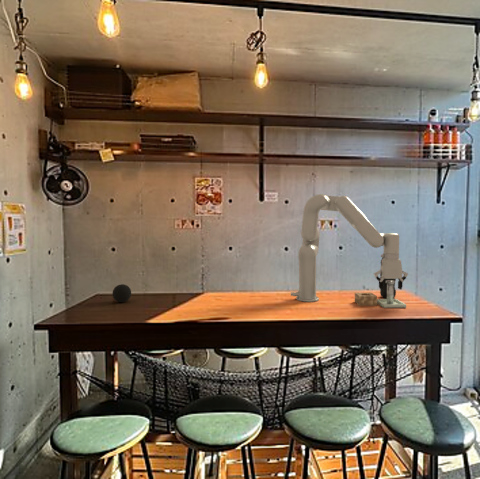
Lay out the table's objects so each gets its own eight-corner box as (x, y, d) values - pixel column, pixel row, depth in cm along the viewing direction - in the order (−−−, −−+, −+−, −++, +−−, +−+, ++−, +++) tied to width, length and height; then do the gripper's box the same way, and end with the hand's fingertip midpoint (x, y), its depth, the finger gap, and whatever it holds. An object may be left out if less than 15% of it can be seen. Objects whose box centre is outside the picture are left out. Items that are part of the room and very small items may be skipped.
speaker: (134, 300, 208) (133, 282, 207) (127, 304, 198) (126, 286, 197) (117, 300, 209) (117, 282, 208) (109, 304, 199) (109, 286, 198)
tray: (383, 307, 186) (383, 304, 186) (375, 302, 199) (375, 299, 199) (406, 307, 186) (406, 304, 186) (396, 302, 199) (396, 299, 198)
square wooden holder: (359, 305, 191) (359, 296, 191) (354, 301, 200) (354, 292, 200) (376, 305, 191) (377, 296, 191) (371, 301, 200) (371, 292, 200)
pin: (387, 304, 190) (387, 281, 190) (384, 302, 195) (384, 280, 194) (396, 304, 190) (396, 281, 189) (392, 302, 195) (393, 280, 194)
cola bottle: (398, 299, 206) (399, 246, 204) (383, 299, 206) (384, 246, 204) (392, 295, 214) (393, 245, 213) (377, 295, 215) (378, 245, 213)
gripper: (376, 257, 187) (376, 290, 189) (410, 257, 187) (410, 290, 188) (372, 256, 195) (371, 287, 196) (404, 255, 195) (404, 287, 196)
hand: (390, 289), depth 192 cm, fingers open, 9 cm apart
